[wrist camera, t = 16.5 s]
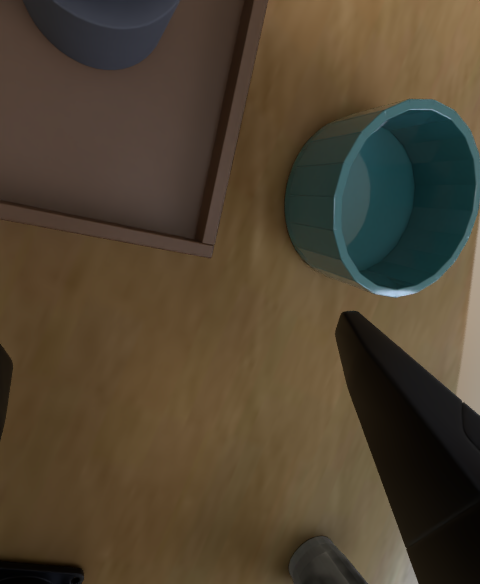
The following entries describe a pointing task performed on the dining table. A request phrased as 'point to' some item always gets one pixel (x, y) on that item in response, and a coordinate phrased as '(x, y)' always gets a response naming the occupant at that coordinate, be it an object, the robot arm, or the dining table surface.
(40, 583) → the robot arm
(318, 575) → the beverage cup
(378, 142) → the teal bowl
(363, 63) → the dining table surface
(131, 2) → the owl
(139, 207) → the tray
